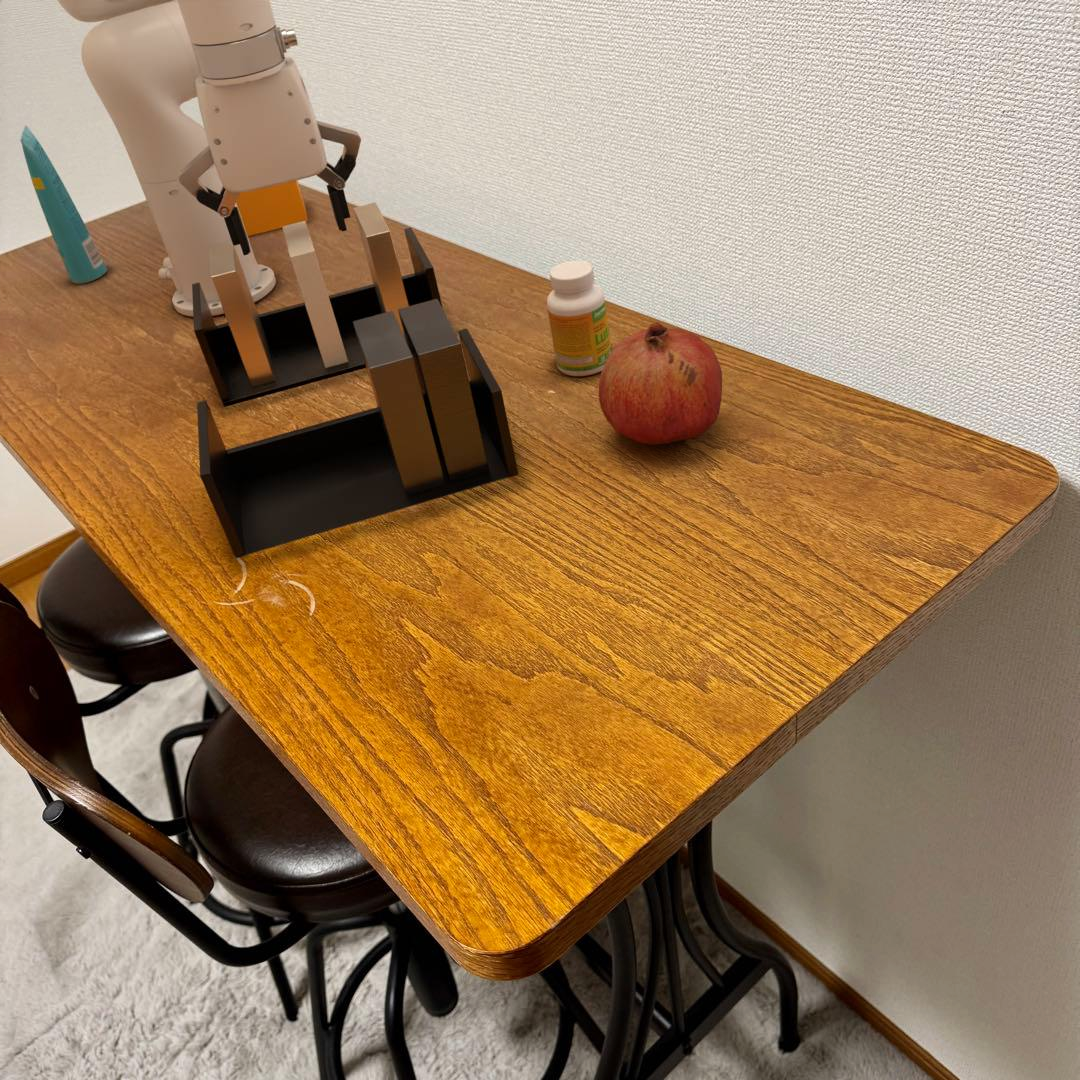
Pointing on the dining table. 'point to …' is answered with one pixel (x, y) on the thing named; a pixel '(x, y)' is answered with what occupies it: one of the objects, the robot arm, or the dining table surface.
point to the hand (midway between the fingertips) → (294, 238)
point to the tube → (62, 215)
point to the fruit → (661, 386)
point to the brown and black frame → (300, 317)
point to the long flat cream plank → (314, 293)
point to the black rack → (368, 440)
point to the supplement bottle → (578, 319)
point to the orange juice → (271, 207)
